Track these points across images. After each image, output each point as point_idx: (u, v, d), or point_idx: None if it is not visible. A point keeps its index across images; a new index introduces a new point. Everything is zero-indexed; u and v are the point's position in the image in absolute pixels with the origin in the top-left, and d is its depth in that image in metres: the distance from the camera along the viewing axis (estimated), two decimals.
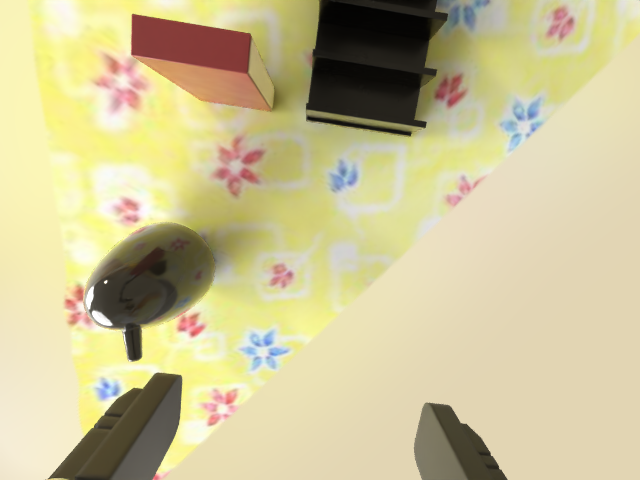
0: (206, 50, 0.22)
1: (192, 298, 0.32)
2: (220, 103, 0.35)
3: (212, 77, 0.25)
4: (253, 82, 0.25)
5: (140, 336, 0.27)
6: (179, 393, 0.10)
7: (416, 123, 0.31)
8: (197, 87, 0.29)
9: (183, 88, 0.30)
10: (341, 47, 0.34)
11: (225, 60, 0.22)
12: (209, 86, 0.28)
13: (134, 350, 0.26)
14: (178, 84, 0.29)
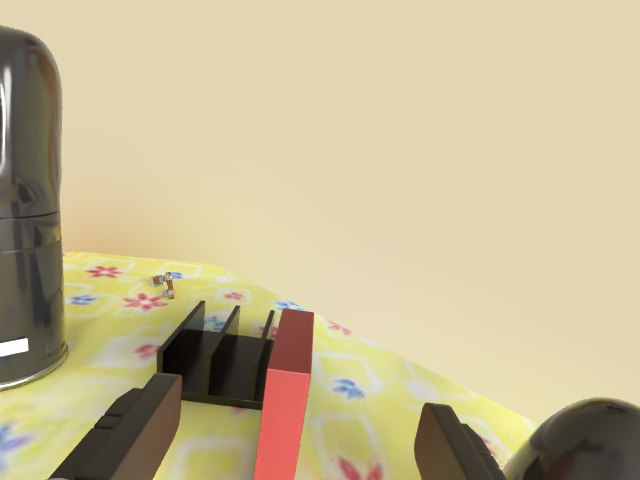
0: (298, 328, 0.24)
1: None
2: None
3: None
4: None
5: None
6: (179, 393, 0.10)
7: None
8: None
9: None
10: (234, 380, 0.36)
11: (305, 320, 0.25)
12: None
13: None
14: None
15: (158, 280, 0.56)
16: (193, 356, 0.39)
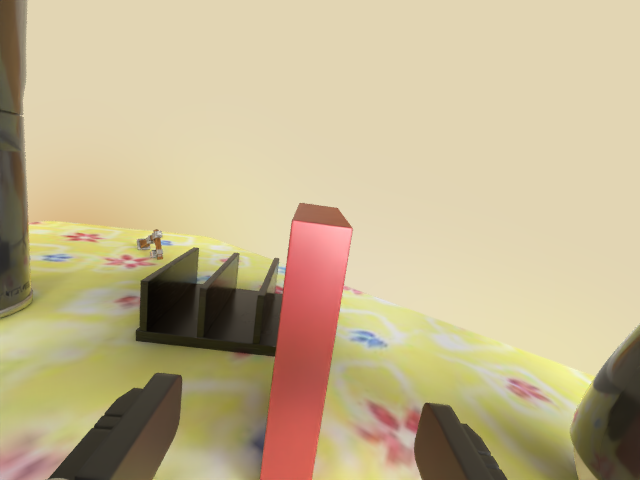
0: (323, 210, 0.18)
1: None
2: None
3: None
4: None
5: None
6: (179, 393, 0.10)
7: None
8: None
9: (323, 403, 0.15)
10: (235, 325, 0.30)
11: (329, 209, 0.20)
12: None
13: None
14: None
15: (145, 242, 0.50)
16: (184, 304, 0.33)
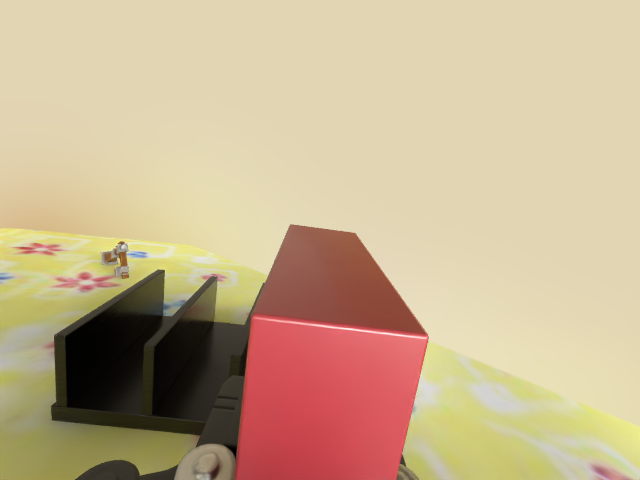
0: (333, 246, 0.09)
1: None
2: None
3: None
4: None
5: None
6: None
7: None
8: None
9: None
10: (203, 388, 0.21)
11: (343, 238, 0.11)
12: None
13: None
14: None
15: (110, 256, 0.42)
16: (138, 352, 0.24)
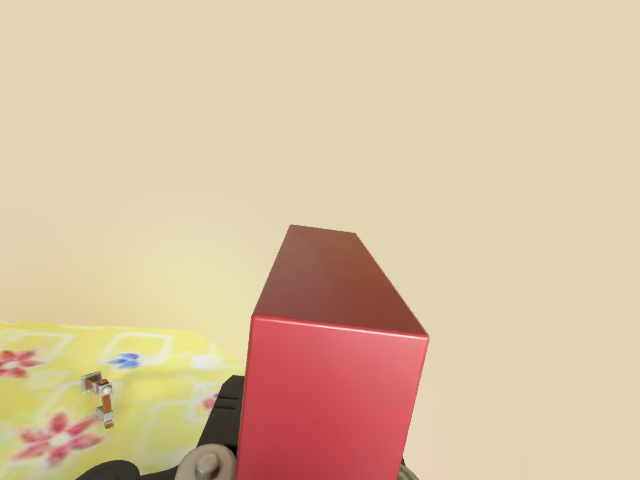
0: (333, 246, 0.09)
1: None
2: None
3: None
4: None
5: None
6: None
7: None
8: None
9: None
10: None
11: (343, 238, 0.11)
12: None
13: None
14: None
15: (91, 385, 0.34)
16: None
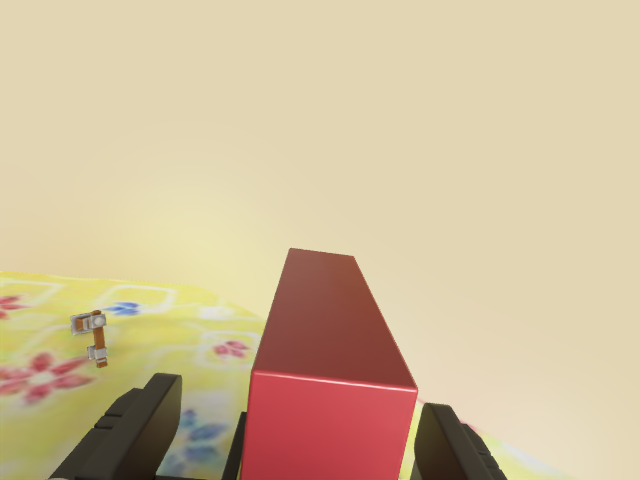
0: (331, 275, 0.10)
1: None
2: None
3: None
4: None
5: None
6: (179, 393, 0.10)
7: None
8: None
9: None
10: None
11: (341, 265, 0.11)
12: None
13: None
14: None
15: (82, 324, 0.29)
16: None
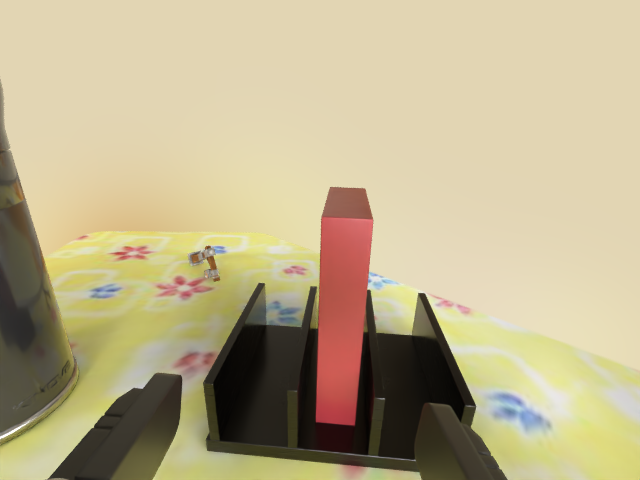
0: (350, 196, 0.21)
1: None
2: None
3: None
4: None
5: None
6: (179, 393, 0.10)
7: (424, 299, 0.27)
8: None
9: (360, 357, 0.19)
10: None
11: (356, 192, 0.22)
12: None
13: None
14: None
15: (197, 258, 0.43)
16: (259, 371, 0.25)
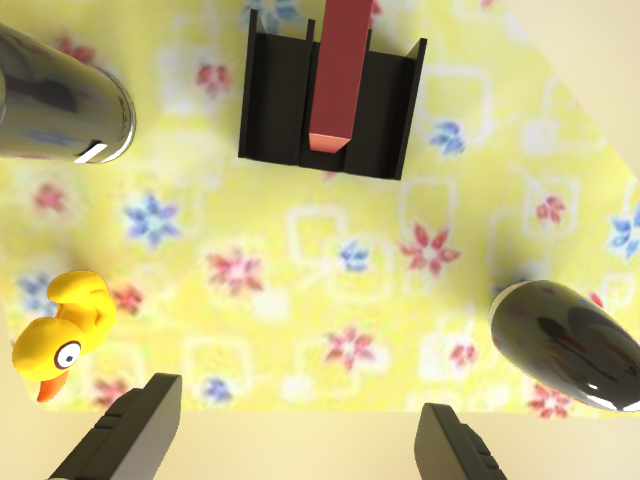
0: (346, 46, 0.18)
1: (598, 307, 0.29)
2: None
3: None
4: None
5: None
6: (179, 393, 0.10)
7: (421, 50, 0.27)
8: None
9: None
10: None
11: (358, 21, 0.18)
12: None
13: None
14: None
15: None
16: (268, 101, 0.32)
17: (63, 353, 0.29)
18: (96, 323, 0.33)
